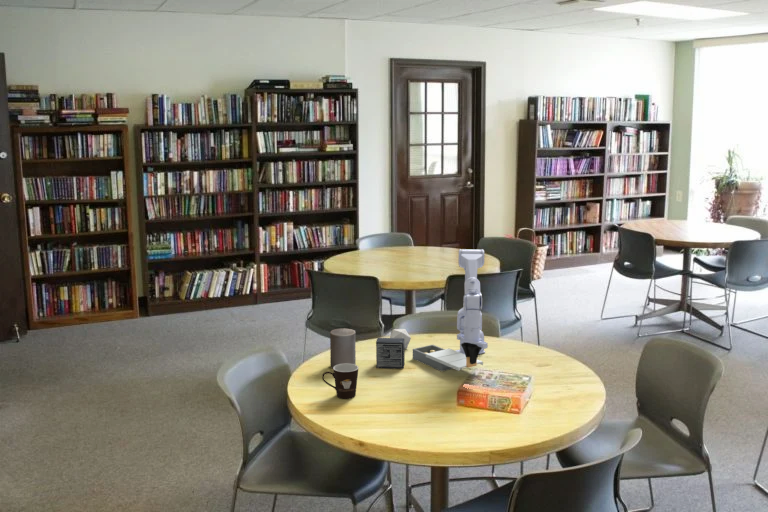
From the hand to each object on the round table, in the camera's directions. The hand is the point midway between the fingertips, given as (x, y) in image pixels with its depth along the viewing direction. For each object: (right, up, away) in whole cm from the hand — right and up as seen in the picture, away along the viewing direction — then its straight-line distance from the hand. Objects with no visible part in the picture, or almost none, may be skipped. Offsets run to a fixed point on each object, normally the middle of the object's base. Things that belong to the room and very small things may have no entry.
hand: (471, 362), depth 274 cm
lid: (-5, 0, +8) cm, 10 cm away
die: (-25, +1, +35) cm, 43 cm away
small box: (-29, -3, +13) cm, 32 cm away
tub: (-11, -2, +17) cm, 21 cm away
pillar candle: (-47, -3, +13) cm, 49 cm away
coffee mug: (-46, -9, -16) cm, 50 cm away
